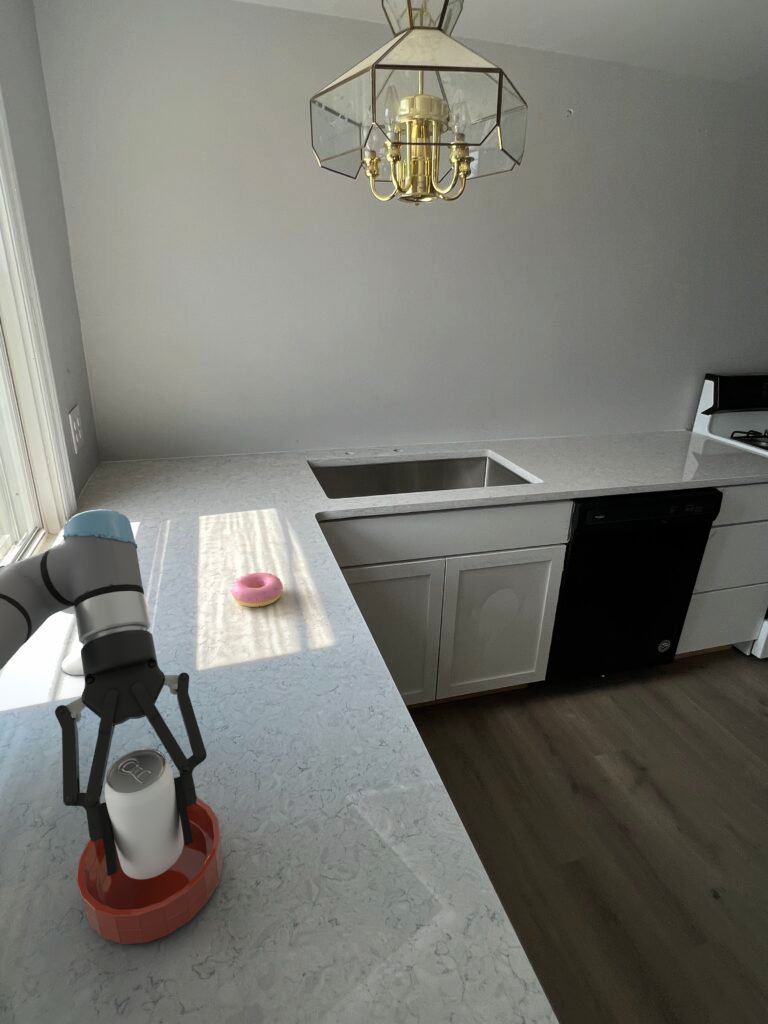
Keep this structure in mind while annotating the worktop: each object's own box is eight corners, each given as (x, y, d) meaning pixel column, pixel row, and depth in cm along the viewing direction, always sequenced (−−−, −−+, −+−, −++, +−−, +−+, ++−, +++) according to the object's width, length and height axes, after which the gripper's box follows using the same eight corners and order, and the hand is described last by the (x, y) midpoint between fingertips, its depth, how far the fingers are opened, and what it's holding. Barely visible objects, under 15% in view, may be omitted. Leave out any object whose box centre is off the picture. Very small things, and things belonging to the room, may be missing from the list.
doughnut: (282, 583, 127) (281, 566, 125) (284, 607, 117) (283, 590, 115) (232, 587, 124) (231, 570, 123) (231, 612, 114) (229, 595, 113)
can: (158, 817, 65) (143, 736, 60) (197, 844, 62) (184, 761, 57) (107, 862, 59) (87, 777, 55) (147, 894, 56) (128, 806, 52)
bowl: (72, 870, 63) (63, 838, 61) (195, 803, 71) (190, 774, 70) (106, 982, 53) (97, 948, 51) (244, 889, 61) (241, 857, 59)
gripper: (201, 626, 71) (243, 818, 64) (25, 667, 63) (48, 895, 55) (205, 609, 65) (251, 821, 57) (9, 653, 57) (33, 908, 49)
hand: (152, 857), depth 56 cm, fingers closed on can, 6 cm apart
